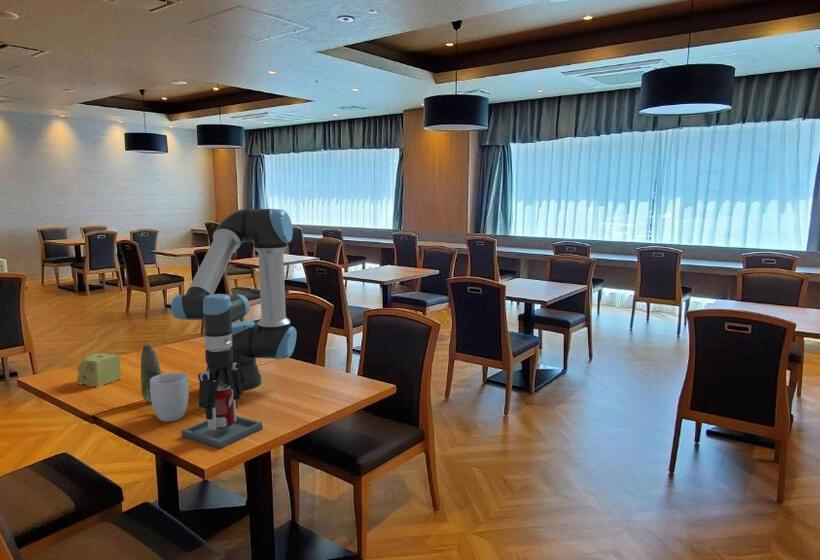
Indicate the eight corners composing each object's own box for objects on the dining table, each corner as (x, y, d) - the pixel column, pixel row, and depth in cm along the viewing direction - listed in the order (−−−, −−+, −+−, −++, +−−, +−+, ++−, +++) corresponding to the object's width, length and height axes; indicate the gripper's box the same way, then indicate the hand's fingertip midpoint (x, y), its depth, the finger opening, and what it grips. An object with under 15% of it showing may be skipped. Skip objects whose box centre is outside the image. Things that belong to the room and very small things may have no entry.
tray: (181, 436, 163) (181, 430, 162) (225, 418, 176) (224, 412, 176) (220, 449, 155) (219, 442, 154) (262, 429, 168) (262, 422, 168)
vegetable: (142, 399, 193) (138, 342, 190) (162, 397, 195) (159, 341, 192) (142, 405, 187) (138, 347, 184) (162, 403, 190) (159, 345, 187)
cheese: (77, 384, 208) (75, 358, 207) (102, 376, 218) (101, 351, 217) (97, 388, 204) (95, 361, 203) (122, 379, 214) (120, 354, 213)
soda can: (227, 431, 161) (225, 391, 160) (205, 429, 163) (203, 389, 161) (238, 422, 168) (237, 383, 166) (218, 420, 169) (216, 382, 168)
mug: (140, 415, 179) (137, 375, 177) (173, 406, 187) (171, 367, 185) (162, 427, 169) (160, 385, 167) (196, 417, 178) (194, 377, 176)
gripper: (199, 358, 152) (203, 439, 155) (253, 342, 169) (256, 416, 172) (181, 354, 155) (185, 433, 159) (235, 339, 172) (239, 411, 176)
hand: (222, 424), depth 165 cm, fingers closed on soda can, 7 cm apart
